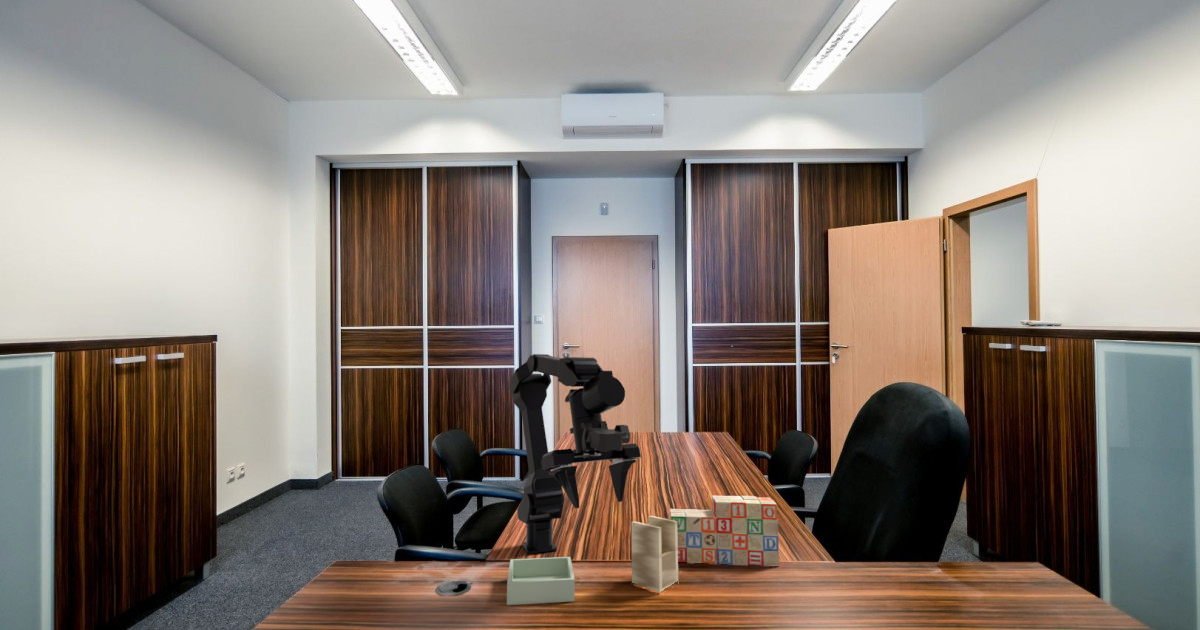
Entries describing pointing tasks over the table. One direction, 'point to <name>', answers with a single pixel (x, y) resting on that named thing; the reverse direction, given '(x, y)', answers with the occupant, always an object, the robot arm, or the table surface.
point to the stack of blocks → (729, 532)
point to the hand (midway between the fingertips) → (599, 504)
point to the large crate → (540, 581)
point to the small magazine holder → (655, 553)
